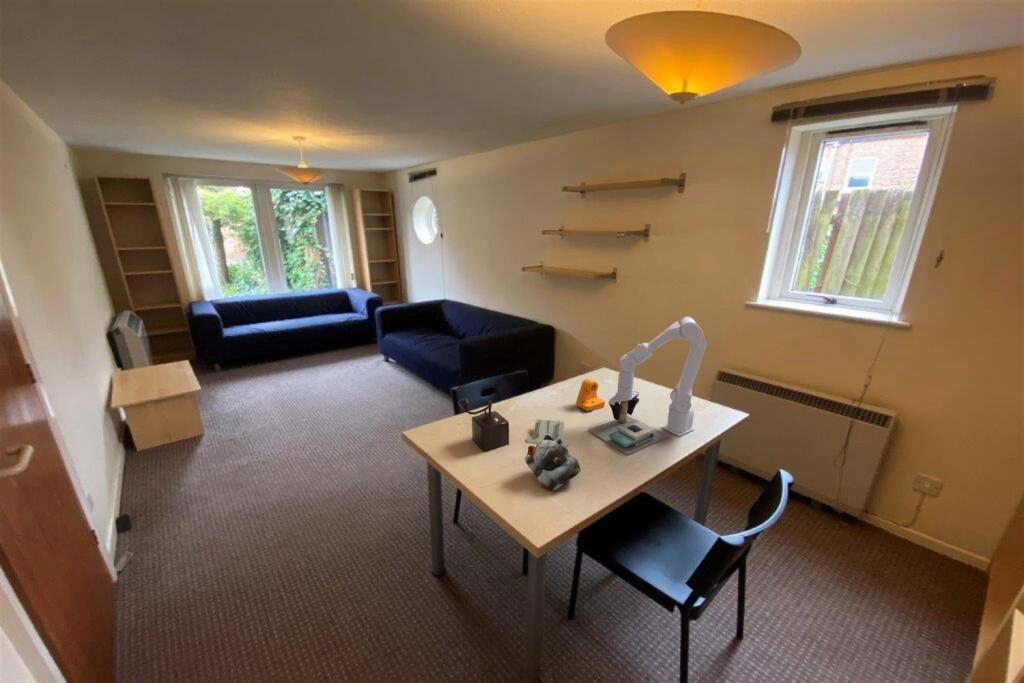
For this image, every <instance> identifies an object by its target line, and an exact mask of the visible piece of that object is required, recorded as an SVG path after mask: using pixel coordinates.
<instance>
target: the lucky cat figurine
mask: <svg viewBox="0 0 1024 683" xmlns="http://www.w3.org/2000/svg"><path fill="white" fill-rule="evenodd" d="M527 449H528V450H527V454H526V456H525V458H524V461H525V464H526V465H527V466H528V468H529V469H530V471H531V472H532V474H534V476H535V477H536V479H537V481H538V482H539V484H540V486H541V487H542V488H543V489H545V490H547V491H555V490H558V489H560V488H561V487H562V486H564V484H565V483H567V482H569V481H570V480H571V479H573V478H575V477H576V476H577V475H578V474H580V472H581V470H582V469H581V465H580V463H579V460H578V459H577V458H576V457H575V456H573V455H571V454H570V453H569V450H568V448H567V447H565V445H564V444H563V443H562V440H561V438H557V439H555V440H554V439H552V438H551V437H550V436H549V435H545V437H544V439H543V441H541V442H540V443H538V444H535V445H529V446H528V447H527Z"/></svg>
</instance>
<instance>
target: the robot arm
mask: <svg viewBox="0 0 1024 683" xmlns="http://www.w3.org/2000/svg"><path fill="white" fill-rule="evenodd" d="M682 337H683V338H682ZM682 339H685V340H686V341H688V342H689V344H690V346H689V350H688V354H687V356H686V358H685V359H686V360H685V361H684V365H683V368H682V371H681V374H680V377H679V381H678V383H677V384H675V387H674V389H673V390H672V391H671V392H670V395H669V396H670V400H671V403H670V404H669V406H668V412H667V421H666V422H667V424H664V425H663V426H661V428H662V429H663V430H665V431H667V432H670V433H671V434H674V435H675V436H677V437H681V436H683V435H686V434H688V433H689V432H692V431H694V430H695V428H694V427H693V423H694V416H695V414H694V410H693V408H692V401H691V400H692V394H693V386H694V385H695V380H696V379H697V375H698V373H699V370H700V367H701V364H702V361H703V358H704V355H705V354H706V353H705V352H706V349H707V347H708V346H707V345H708V343H707V340H706V338H705V334H704V331H703V329H702V328H701V327H700V325H699V324H698V323H697V321H696V320H695V319H694V318H693V317H690V316H684V317H681V318H679V320H677V321H675V322H673V323H671V325H670V326H668V327H667V328H665V330H663V331H662V332H661V333H660V334H658V335H656V336H655V337H654V338H653V339H652V340H650V341H649V342H642V343H641V344H640V343H638V344H637V345H636V347H635V348H634V349H632V350H631V351H627V352H626V354H623V355H622V356H621V357H620V358H619V361H618V362H619V372H618V378H617V380H618V381H617V390H616V392H615V395H613V397H611V398H609V401H608V405H609V407H610V409H611V412H612V416H613V420H615V419H616V420H619V416H620V411H621V409H622V407H623V406H622V405H620V402H621V401H628V408H627V415H628V416H632V415H633V413H634V411H635V408H636V406H637V404H639V402H640V398H639V396H640V392H639V391H637V390H634V382H635V381H634V380H635V375H634V374H635V370H636V368H637V366H639V365H640V364H642V363H643V362H645V361H646V360H648V359H650V358H651V357H652V356H653V355H654V351H655V350H657V349H658V348H660V347H662V346H663V345H665V344H666V343H668V342H670V341H671V340H682Z"/></svg>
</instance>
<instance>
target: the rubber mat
mask: <svg viewBox="0 0 1024 683" xmlns="http://www.w3.org/2000/svg"><path fill="white" fill-rule="evenodd" d="M633 420H636V419H635V418H633V417H631V416H630V415H627V419H626V423H628V422H631V421H633ZM618 421H619V420H616V419H613V420H610V421H607V422H604V423H603V424H600V425H596V426H594V427H591V428H588V429H587V432H588V433H590V434H592V435H593V436H595V437H597V438H598V439H600V440H601V441H603V442H604V443H606V444H608V445H609V446H611V447H613V448H615V449H616V450H617V451H619V452H621V453H622V454H624V455H626V456H630V455H632V454H635V453H636V452H638V451H639V452H640V451H641V450H643V449H646V448H648V447H650V446H652V445H655V444H657V443H659V442H661V441H663V440H666V439H668V438H669V435H667V434H664V433H663V432H661V431H659V430H656V431H655V439H653V440H651V441H649V442H646V443H644V444H642V445H639V446H637V447H633V446H632V445H629V446H627V447H625V446H623V445H621V444H620V443H618V442H616V441H614V440H613V439H611V438H609V434H611V433H613V432H616V431H618V430H617V427H618V426H620V425H623V424H621V423H619V422H618ZM626 423H625V424H626Z"/></svg>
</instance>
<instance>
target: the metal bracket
mask: <svg viewBox="0 0 1024 683" xmlns="http://www.w3.org/2000/svg"><path fill="white" fill-rule="evenodd" d="M564 429H565V421H561V420H552V419H551V417H549V419H548V420H547V419H536V420H535V424H534V430H533V433H532V434H533V436H527V438H526V444H532V445H537V444H538V443H540V442H541V441H543V439H544V437H545V435H549V436H550V437H551V438H552V439H554V440H555V439H557V438H561V440H562V443H563V444H564V445H565V447H566V448H567V447H569V445H568V444H569V440H567V439H564V431H565V430H564Z"/></svg>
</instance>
